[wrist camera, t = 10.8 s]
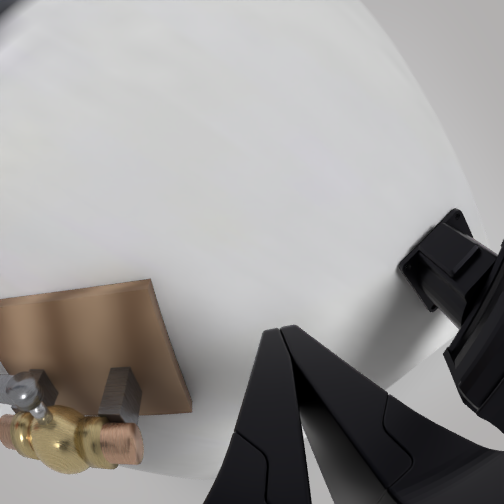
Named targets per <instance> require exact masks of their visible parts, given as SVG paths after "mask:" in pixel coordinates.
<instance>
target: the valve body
mask: <svg viewBox="0 0 504 504" xmlns="http://www.w3.org/2000/svg"><path fill="white" fill-rule="evenodd" d="M28 372H30V373H32V374H33V376H34V377H35V379H36V380H37V382H38V383H39V385H40V386H41V388H42V389H43V391H44V397H43V400H42V402H41V403H40V404H39V405H38V406H37V407H36V408H35V409H33V410H31V411H21V410H19V409H18V408H17V406H16V405H12V407H11V408H12V409H13V411H14V412H15V413H16V414H15V415H10V414H5V415H3V416H2V417H1V418H0V440H1V442H2V443H3V445H4V446H6V447H7V448H9V449H13V450H17V452H18V453H19V454H20V455H22V456H24V457H27V458H32V459H37V460H41V461H42V462H43V463H44V464H45V465H46V466H48V467H49V468H51V469H53V470H55V471H57V472H60V473H64V474H77V473H80V472H82V471H85V470H86V469H88V468H89V467H92V468H103V469H115V468H117V466H118V465H119V464H133V465H138V464H140V463H141V462H142V459H143V453H144V447H143V439H142V435H141V432H140V430H139V428H138V426H137V425H138V418H139V411H140V405H141V398H142V392H143V391H142V390H141V388H140V386H139V384H138V382H137V380H136V378H135V376H134V374H133V371H132V369H131V367H115V368H110V371H109V375H108V378H107V382H106V385H105V389H104V392H103V396H102V400H101V404H100V407H99V411H98V415H99V416H100V417H99V416H86V417H85V416H84V415H83V414H81V413H80V412H79V411H77V410H75V409H73V408H71V407H68V406H64V405H54V404H55V401H56V399H57V396H58V394H59V392H58V391H57V389H56V388H55V386H54V385H53V383H52V382H51V380H50V379H49V377H48V375H47V374H46V372H45V371H44V369H30V370H29V371H28Z"/></svg>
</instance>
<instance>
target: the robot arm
mask: <svg viewBox="0 0 504 504" xmlns="http://www.w3.org/2000/svg"><path fill="white" fill-rule="evenodd" d="M456 214H457V216H456ZM501 247H502V248H501V250H500V252H499V254H498V255H497V254H496V253H494V252H493V251H491V250H490V249H488V248H487V247H485V246H484V245H482V244H481V243H479V242H478V241H476V240H475V239H473V236H472V234H471V231H470V229H469V227H468V225H467V222H466V220H465V218H464V216H463V213H462V212H461V210H459V209H456V208H455V209H453V210H452V211H451V212H450V213H449V214H448V215H447V216H446V217H445V218H444V219H443V220H442V222H441V223H440V224H439V225H438V226H437V227H436V228H435V229H434V230H433V231H432V232H431V233H430V234H429V235H428V236H427V237H426V238H425V239H424V240H423V241H422V242H421V243H420V244H419V245H418V246H417V247H416V248H415V249H414V250H413V251H412V252H411V253H410V254H409V255H408V256H407V257H406V258H405V259H404V260H403V261H402V262H401V263H400V270H401V272H402V273H403V274H404V276H405V277H406V279H407V280H408V281H409V283H410V284H411V286H412V287H413V289H414V290H415V292H416V293H417V294H418V296H419V297H420V299H421V300H422V302H423V303H424V305H425V306H426V308H427V309H428V310H429V311H430V312H434V311H435V310H436V309H437V308H439V309H440V310H441V311H442V312H443V313H444V314H445V315H446V316H447V317H448V318H449V319H450V320H451V322H452V323H453V324H454V325H455V326H456V327H457V328H458V329H459V331H458V333H457V335H456V336H455V338H454V340H453V341H452V343H451V344H450V346H449V347H447V349H446V350H445V352H444V353H443V356H444V358H445V360H446V363H447V365H448V367H449V370H450V372H451V375H452V377H453V380H454V382H455V385H456V387H457V390H458V392H459V395H460V397H461V399H462V401H463V403H464V404H465V405H467V406H468V407H469V408H470V409H471V410H472V411H474V412H475V413H476V414H477V416H479V417H481V418H482V419H484V420H487V421H488V422H490V423H491V424H493V425H494V426H495V427H497V428H498V429H499V430H500V431H501V432H502V433H504V240H503V242H502V244H501ZM406 265H408V266H407V267H406ZM405 267H406V268H405ZM301 424H302V425H301ZM302 426H303V429H304V431H305V434H306V436H307V438H308V441H309V443H310V446H311V448H312V451H313V453H314V455H315V458H316V460H317V463H318V465H319V468H320V470H321V473H322V475H323V477H324V480H325V482H326V485H327V487H328V489H329V492H330V494H331V497H332V499H333V501H334V504H504V451H497V450H492V449H488V448H485V447H482V446H480V445H477V444H475V443H474V442H472V441H469V440H467V439H465V438H463V437H461V436H459V435H457V434H455V433H454V432H452V431H449V430H448V429H446V428H444V427H442V426H440V425H438V424H436V423H434V422H432V421H431V420H429V419H427V418H425V417H424V416H422V415H420V414H418V413H417V412H415V411H413V410H412V409H410V408H409V407H407V406H406V405H404V404H403V403H402V402H400V401H399V400H397V399H396V398H395V397H393V396H392V395H388V393H387V392H386V391H385V390H383V389H382V388H380V387H379V386H378V385H376V384H375V383H374V382H372V381H371V380H369V379H368V378H367V377H365V376H364V375H363V374H361V373H360V372H358V371H357V370H356V369H354V368H353V367H352V366H350V365H349V364H348V363H346V362H345V361H343V360H342V359H341V358H339V357H338V356H337V355H335V354H334V353H333V352H331V351H330V350H329V349H327V348H326V347H325V346H323V345H322V344H321V343H319V342H318V341H317V340H315V339H314V338H313V337H311V336H310V335H309V334H307V333H306V332H305V331H303V330H302V329H301V328H299V327H298V326H297V325H290V326H285V327H281V328H280V330H279V329H278V328H274V329H269V330H265V331H263V333H262V337H261V340H260V344H259V347H258V351H257V354H256V358H255V361H254V365H253V368H252V372H251V375H250V379H249V382H248V385H247V389H246V392H245V396H244V399H243V402H242V406H241V409H240V412H239V416H238V419H237V422H236V425H235V429H234V433H233V435H232V438H231V441H230V444H229V447H228V450H227V453H226V456H225V458H224V461H223V464H222V466H221V469H220V471H219V473H218V475H217V477H216V479H215V482H214V484H213V486H212V488H211V490H210V492H209V494H208V495H207V497H206V499H205V501H204V503H203V504H312V502H311V493H310V486H309V477H308V470H307V462H306V454H305V448H304V440H303V432H302Z"/></svg>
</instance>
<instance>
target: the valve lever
mask: <svg viewBox="0 0 504 504" xmlns="http://www.w3.org/2000/svg"><path fill="white" fill-rule="evenodd" d="M43 397H44V391H43V389H42V388H41V386H40V385H39V383H38V382H37V380H36V379H35V377H34V376H33V374H32V373H30V372H27V371H24V372H20V373H17V374H16V375H3V374H0V403H3V404H9V405H16V406H17V408H18V409H19V410H21V411H31V410H33V409H35V408H36V407H37V406H38V405H39V404H40V403H41V402H42V400H43Z"/></svg>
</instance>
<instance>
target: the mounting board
mask: <svg viewBox="0 0 504 504" xmlns="http://www.w3.org/2000/svg"><path fill="white" fill-rule="evenodd" d="M0 361H1V363H2V364H3V366H4V368H5V369H6V371H7V372H8V374H9V375H16V374H17V373H20V372H24V371H27V372H28V371H29V370H30V369H44V371H45V372H46V374H47V375H48V377H49V379H50V380H51V382H52V383H53V385H54V386H55V388H56V389H57V391H58V392H59V394H58V396H57V399H56V401H55V404H54V405H64V406H68V407H71V408H73V409H75V410H77V411H79V412H80V413H81V414H83V415H91V416H99V415H98V411H99V407H100V404H101V400H102V396H103V392H104V389H105V385H106V382H107V378H108V375H109V371H110V368H115V367H131V369H132V371H133V374H134V376H135V378H136V380H137V382H138V384H139V386H140V388H141V390H142V391H143V392H142V398H141V405H140V411H139V415H162V414H178V413H191V412H192V400H191V397H190V394H189V392H188V389H187V387H186V384H185V381H184V379H183V376H182V373H181V371H180V368H179V365H178V362H177V360H176V357H175V354H174V351H173V348H172V345H171V342H170V339H169V336H168V333H167V330H166V327H165V324H164V321H163V318H162V315H161V312H160V309H159V305H158V302H157V299H156V296H155V292H154V289H153V285H152V282H151V279H146V280H139V281H132V282H125V283H118V284H111V285H104V286H96V287H89V288H82V289H75V290H67V291H60V292H52V293H45V294H37V295H30V296H22V297H14V298H6V299H0Z"/></svg>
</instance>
